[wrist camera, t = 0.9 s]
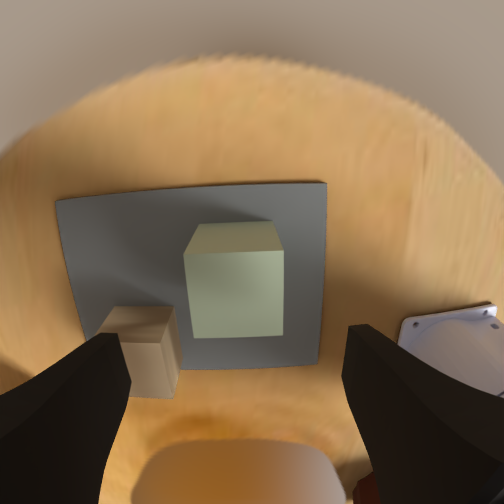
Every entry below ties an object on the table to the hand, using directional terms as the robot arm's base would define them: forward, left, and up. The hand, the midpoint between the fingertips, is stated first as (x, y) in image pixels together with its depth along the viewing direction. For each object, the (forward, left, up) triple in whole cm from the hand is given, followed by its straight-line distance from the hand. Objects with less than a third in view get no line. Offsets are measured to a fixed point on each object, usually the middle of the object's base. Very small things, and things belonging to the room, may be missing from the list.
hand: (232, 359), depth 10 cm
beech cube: (+6, +5, -9) cm, 12 cm away
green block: (0, 0, -9) cm, 9 cm away
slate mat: (+3, +2, -10) cm, 10 cm away
